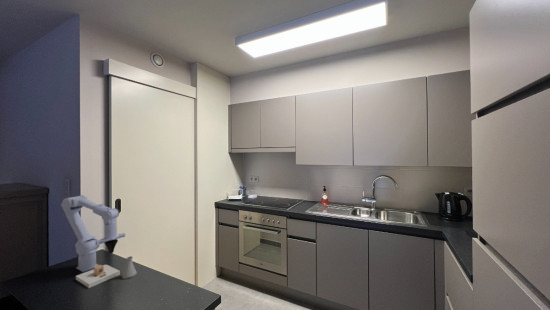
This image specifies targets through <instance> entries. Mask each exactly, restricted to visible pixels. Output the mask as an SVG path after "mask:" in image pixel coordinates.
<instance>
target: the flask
mask: <svg viewBox="0 0 550 310" xmlns="http://www.w3.org/2000/svg"><path fill="white" fill-rule="evenodd" d="M125 260H126V262H125V267H124V270H123V271H122V275H121V279H124V280H127V279H131V278H134V277H135V276H137V275H138V273H137V270H136V268H135V264H134V263H133V256H127V257H126V258H125Z"/></svg>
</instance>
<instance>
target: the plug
mask: <svg viewBox="0 0 550 310" xmlns="http://www.w3.org/2000/svg"><path fill="white" fill-rule="evenodd" d="M93 269H94V277H97V276H99V275H102V274H104V266H103V264H98V266H95V267H94V268H93Z"/></svg>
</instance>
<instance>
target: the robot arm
mask: <svg viewBox="0 0 550 310" xmlns="http://www.w3.org/2000/svg"><path fill="white" fill-rule="evenodd" d="M60 206H61V208H62V210H63V211H64V214H65V216H66V218H67V220H68V222H69V225H70V226H71V228H72V230H73V233H74V234H75V237H76V238H77V242H76V243H75V244H74V247H75V252H76V254H77V255H78V260H77V261H78V263H77V266H76V269H77V270H78V271H80V272H82V273H85V272H88V271H90V270H93V269H94V267H95V266H98V265H99V264H98V263H97V250H98V249H99V247H100V245H101V244H105V246H106V248H107V250H108V253H109V254H113V253H114V252H115V247H116V245H117V244H118V242H119V240H118V239H121V238H124V237H125V238H126V233H125V232H123V233H118V226H117V225H118V224H117V223H118V222H117V219H118V217H119V216H120V211H119V210H118V209H117V208H114V207H113V208H111V207H108V206H107V205H104V203H98V204H97V203H96V202H93V201H91V200H90V199H88V197H87V196H85V195H77V196H71V197H65V198H64V199H62V202H61V204H60ZM83 207H84V208H85V209H86V208H87V209H89V210H92V213H93V214H95V215H97V216H99V217H101V219H102V221H103V223H104V237H103V238H101V239H97V238H96V236H95V235H91V234H90V233H89V230H88V229H87V227H86V225H85V223H84V220H83V219H82V217H81V215H80V213H79V212H80V211H81V210H82V208H83Z"/></svg>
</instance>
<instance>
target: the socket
mask: <svg viewBox="0 0 550 310" xmlns="http://www.w3.org/2000/svg"><path fill="white" fill-rule="evenodd" d="M102 266H104V274H102V275H99V276H97V277H94V268H92V269H90V270H87V271H84V272H82V273H80V274H77V275H75V280H76V281H77V282H79V283H81V284H82V285H83V286H85V287H86V288H88V289H90V288H92V287H95V286H97V285H99V284H101V283H104V282H106V281H108V280H111V279H113V278H115V277H118V276H119V275H121V271H120V270H119V269H117V268H115V267H112V266H110V265H108V264H102Z"/></svg>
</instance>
